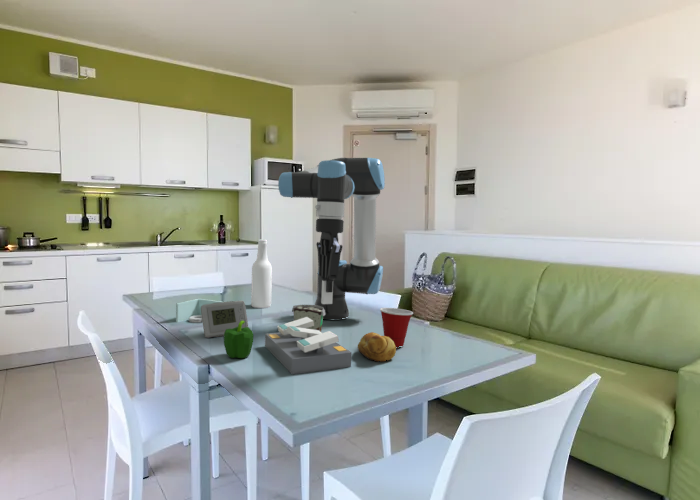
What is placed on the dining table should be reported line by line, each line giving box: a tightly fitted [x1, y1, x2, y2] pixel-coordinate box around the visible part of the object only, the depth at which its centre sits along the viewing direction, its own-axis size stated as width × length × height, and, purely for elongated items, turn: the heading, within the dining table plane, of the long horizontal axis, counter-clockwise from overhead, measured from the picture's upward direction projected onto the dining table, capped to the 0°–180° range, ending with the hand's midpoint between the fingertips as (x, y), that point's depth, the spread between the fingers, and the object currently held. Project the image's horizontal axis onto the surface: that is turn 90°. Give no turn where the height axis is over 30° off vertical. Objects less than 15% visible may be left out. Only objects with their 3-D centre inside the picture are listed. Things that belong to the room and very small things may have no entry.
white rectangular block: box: [297, 330, 339, 352], centre depth 119 cm, size 10×6×2 cm, turn 116°
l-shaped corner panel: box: [175, 298, 223, 324], centre depth 164 cm, size 12×12×8 cm
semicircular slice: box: [291, 304, 325, 332], centre depth 150 cm, size 12×6×10 cm, turn 65°
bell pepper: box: [223, 321, 254, 359], centre depth 124 cm, size 8×8×10 cm
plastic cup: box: [379, 307, 414, 347], centre depth 141 cm, size 11×11×12 cm
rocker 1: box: [277, 317, 314, 335], centre depth 135 cm, size 10×6×2 cm, turn 116°
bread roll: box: [357, 331, 397, 362], centre depth 129 cm, size 13×10×8 cm
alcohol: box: [250, 239, 273, 309], centre depth 193 cm, size 9×9×30 cm
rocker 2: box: [287, 326, 323, 338], centre depth 127 cm, size 10×6×2 cm, turn 117°
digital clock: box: [201, 300, 249, 338], centre depth 148 cm, size 16×9×11 cm, turn 122°
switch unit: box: [264, 329, 352, 375], centre depth 127 cm, size 17×26×6 cm, turn 26°
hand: (326, 303), depth 120 cm, fingers closed
